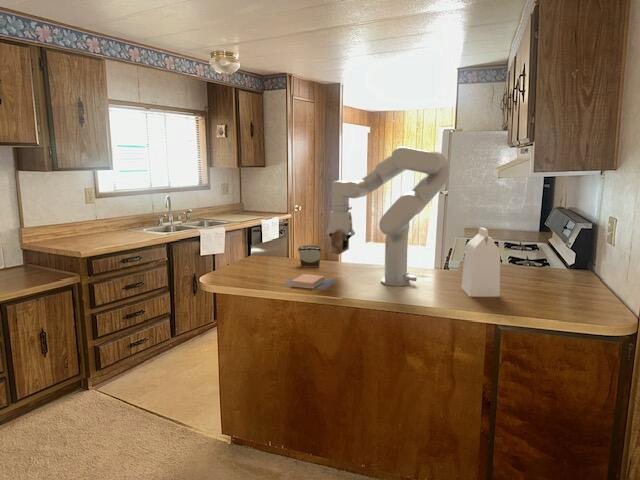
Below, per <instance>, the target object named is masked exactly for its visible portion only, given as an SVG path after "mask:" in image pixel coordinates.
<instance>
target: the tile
mask: <svg viewBox="0 0 640 480" xmlns="http://www.w3.org/2000/svg"><path fill="white" fill-rule="evenodd" d="M300 275H301V276H299V275H298V276H299V277H297V276H296V277H297V278H296V279H294V280H292V286H291V287H295V288H296V287H297V288H305V289H313V288H315V287H316V286H318V285H320V284H321V283H323V282H324V278H325V275H317V274H309V273H307V274H306V273H302V274H300Z"/></svg>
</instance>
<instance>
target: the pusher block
mask: <svg viewBox="0 0 640 480" xmlns="http://www.w3.org/2000/svg"><path fill="white" fill-rule="evenodd" d="M349 234H350V233H348V235H349ZM330 239H331V241H330V247H331V248H330V254H334V255H340V254H343V253H344V252H346V251H348V250H350V238H349V239H348V247H347V248H346V249H343V241H344V235H343V233H337V232H334V233H332V234H331V237H330Z"/></svg>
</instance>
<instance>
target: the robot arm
mask: <svg viewBox="0 0 640 480" xmlns="http://www.w3.org/2000/svg"><path fill="white" fill-rule="evenodd" d="M449 170H450V166H449V162H448V160H447V158H446V156H445V155H444V154H443V153H441V152H439V151H428V150H422V149H415V148H413V147H411V146H398V147H397V148H395V149H394V150H392V153H391V155H389V156H387V157H386V158H384V159H383V160H381V161H380V162H378V163H377V164H376V165H375V168H374V169H373V170H372V171H371V172H370V173H369V174H367V175H366V176H364V177H363V178H361V179H358V180H353V181H352V180H351V181H348V180H334V181H333V182H332V184H331V185H332V186H331V191H332V192H331V193H332V194H331V196H332V198H331V211H330V214H329V219H328V227H327V229H326V231H325V233H326V234H327V235H328V236H329V237H330V238H331V234H332V233H334V232H337V233H343V235H344V241H343V249H346V248H347V247H348V239H349V240H350V239H351V238H352V237H353V236H355V235H356V233H355V230H354V229H353V218H352V213H351V211H350V210H352V209H353V206H351V205H350V199H358V198H363V197H365V196H368V195H369V194H371V193H373V192H374V191H376V190H377V189H379V188H380V187H382V186H383V185H385V184H386V183H387V182H389V181H390V180H393V178H395V177H397V176H398V175H400V174H401V173H403V172H405V171H411V172H417V173H420V174H421V173H423V174H425V176H423V177H422V179H420V180H419V182H417V184H416V185H415V186H414V187H413V189H411V191H409V192H408V193H405V194H402V195H401V196H400V197H399V198H397V200H396V201H394V203H393V204H392V205H391V206H390V207H389V209H387V211H386V212H385V213H384V214H383V215H382V216H381V217H380V220H379V230H380V232H381V233H382V234H384V235H385V239H384V240H385V241H384V243H385V244H384V277H382V278H381V279H380V282H381V284H383V285H385V286H391V287H404V286H405V287H406V286H408V285H410V284H411V281H412V282H417V276H415V275H410V274H409V271H408V246H409V245H408V244H409V243H408V242H409V239H408V238H409V232H410V222H411V221H412V219H414V217H415V216H416V215H419V214H420V213H421V212H422V211H423V210H425V209H424V208H425V207H427V205H428V204H429V203H430V202H431V201H432V200H433V199H434V197H435V196H437V194H438V193H439V192H440V191H441V189H442V188H443V187H444V186H445V184H446V183H447V179H448V177H449V172H450V171H449ZM348 233H349V235H348Z"/></svg>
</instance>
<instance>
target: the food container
mask: <svg viewBox="0 0 640 480" xmlns="http://www.w3.org/2000/svg"><path fill="white" fill-rule="evenodd" d="M297 252H298V254H299V261H300V262H299V263H300V267H304V268H309V267H310V268H314V267H315V268H320V266H321V265H320V264H321V254H322V252H323V249H322V247H321V246H320V245H314V244H309V245H307V244H305V245H301V246H298V249H297Z"/></svg>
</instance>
